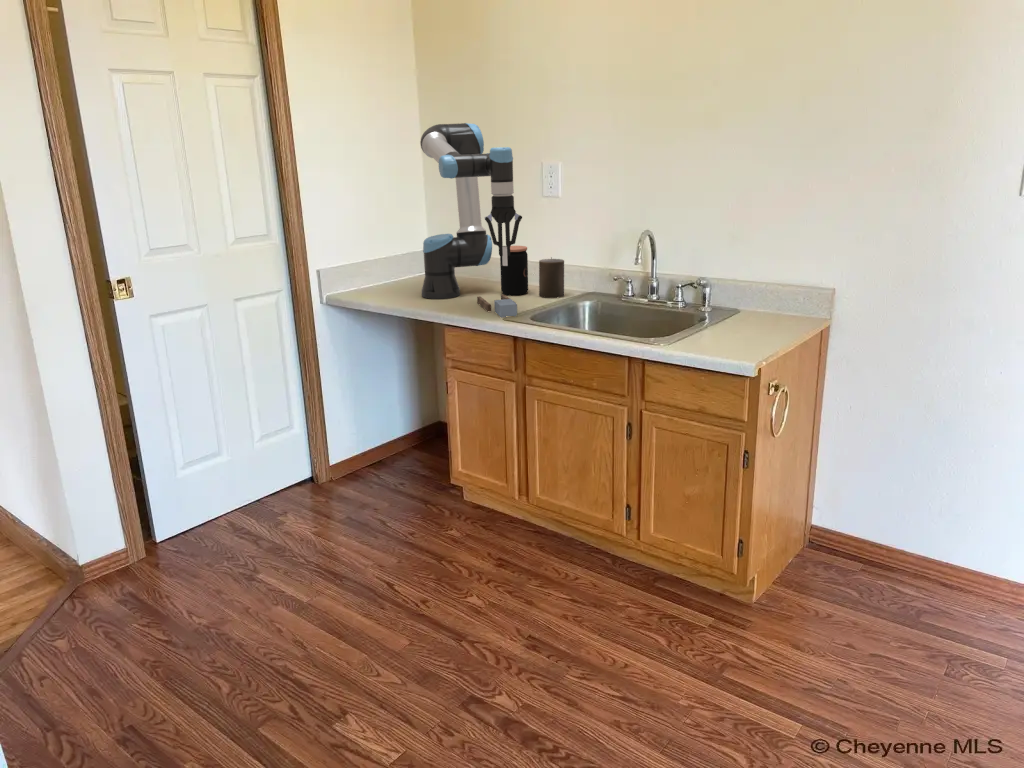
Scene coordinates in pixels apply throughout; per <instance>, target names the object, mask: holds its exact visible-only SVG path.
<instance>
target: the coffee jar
mask: <svg viewBox="0 0 1024 768" xmlns="http://www.w3.org/2000/svg"><path fill="white" fill-rule="evenodd" d="M527 251H528V246H525V245H511V246H510V256H507V262H508V266H503V265H502V256H500V255H499V258H500V259H499V261H500V263H499V264H500V267H499V268H500V291H501V293H502V294H504V295H506V296H508V295H511V296H512V297H513V296H514V297H516V296H523V295H526V294H527V293H528V291H529V262H528V261H529V259H528V256H529V255H528V252H527ZM511 296H510V297H511Z"/></svg>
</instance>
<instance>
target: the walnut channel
mask: <svg viewBox="0 0 1024 768" xmlns="http://www.w3.org/2000/svg"><path fill="white" fill-rule="evenodd" d="M476 299H477V300H476V301H477V304H478V305H479V304H480V305H481V306H482V307H481V306H480V305H479V306H480V307H481V308H483V309H484V308H485V309H486V310H487V311H486V310H485V309H484V310H485V311H486V312H488V311H492V304H491V303H489V302H488V301H487V300H485V299H484V298H483V297H482V296H477V297H476ZM504 299H511V298H510V297H508V295H504V294H503V293H502V294H500V300H504ZM514 302H515V301H514ZM515 303H516V304H517V302H515Z"/></svg>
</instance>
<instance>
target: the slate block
mask: <svg viewBox="0 0 1024 768" xmlns="http://www.w3.org/2000/svg"><path fill="white" fill-rule="evenodd" d="M493 305H494V313H495V312H496V313H497V314H498V315H499V316H500V317H501V318H507V317H506V316H514V317H517V316H518V303H517V302H516V303H515V300H513V299H511V298H510V299H504V300H501V299H494V303H493ZM496 313H495V314H496ZM497 314H496V315H497ZM498 315H497V316H498ZM516 315H517V316H516ZM499 316H498V317H499ZM500 317H499V318H500Z"/></svg>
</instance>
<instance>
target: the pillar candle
mask: <svg viewBox="0 0 1024 768" xmlns="http://www.w3.org/2000/svg"><path fill="white" fill-rule="evenodd" d="M538 263H539V265H538V268H539V270H538V276H539V277H538V284H539V285H538V296H539V297H541V298H545V299H546V298H547V299H550V298H551V299H558V298H557V297H559V298H563V297H564V296H565V259H562V258H553V257H552V256H550V258H543V259H539V260H538ZM562 296H563V297H562Z"/></svg>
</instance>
